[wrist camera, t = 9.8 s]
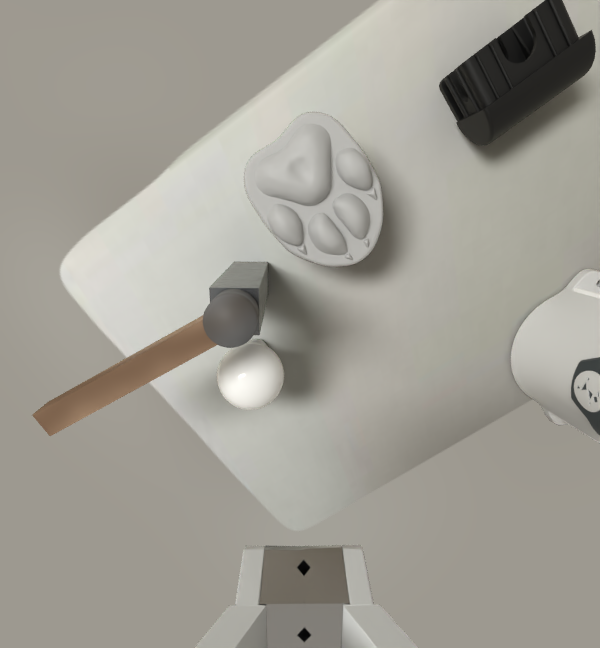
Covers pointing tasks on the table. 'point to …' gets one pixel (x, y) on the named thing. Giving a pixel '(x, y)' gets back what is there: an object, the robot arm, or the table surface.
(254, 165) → the lumpy-topped squat cylinder
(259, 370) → the lightbulb
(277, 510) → the table surface
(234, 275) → the post
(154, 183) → the table surface
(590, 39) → the end cap
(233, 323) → the hammer
